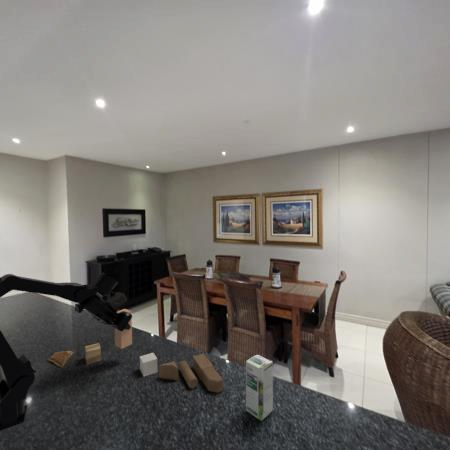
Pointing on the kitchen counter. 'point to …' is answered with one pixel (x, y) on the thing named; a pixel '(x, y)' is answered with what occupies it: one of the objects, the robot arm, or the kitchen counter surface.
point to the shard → (60, 358)
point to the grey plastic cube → (148, 364)
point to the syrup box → (259, 386)
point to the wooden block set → (200, 367)
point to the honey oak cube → (93, 353)
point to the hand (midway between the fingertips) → (126, 326)
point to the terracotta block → (123, 334)
